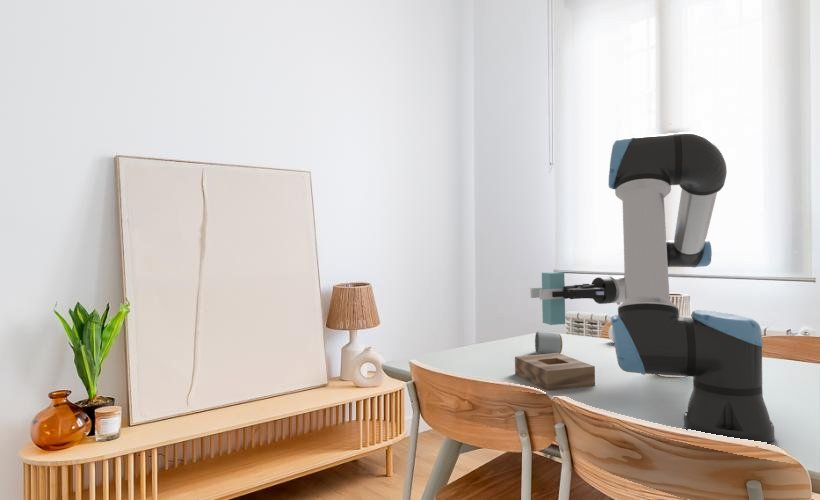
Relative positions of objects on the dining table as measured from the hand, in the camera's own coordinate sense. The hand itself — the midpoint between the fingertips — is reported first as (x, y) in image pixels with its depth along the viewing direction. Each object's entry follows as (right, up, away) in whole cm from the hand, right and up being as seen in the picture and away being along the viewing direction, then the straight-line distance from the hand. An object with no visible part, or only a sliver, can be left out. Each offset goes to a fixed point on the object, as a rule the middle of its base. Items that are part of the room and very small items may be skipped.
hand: (535, 293), depth 142 cm
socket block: (+5, -24, +1) cm, 24 cm away
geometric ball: (+43, -23, +49) cm, 69 cm away
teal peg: (+5, -8, +1) cm, 10 cm away
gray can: (+12, -23, +35) cm, 44 cm away
